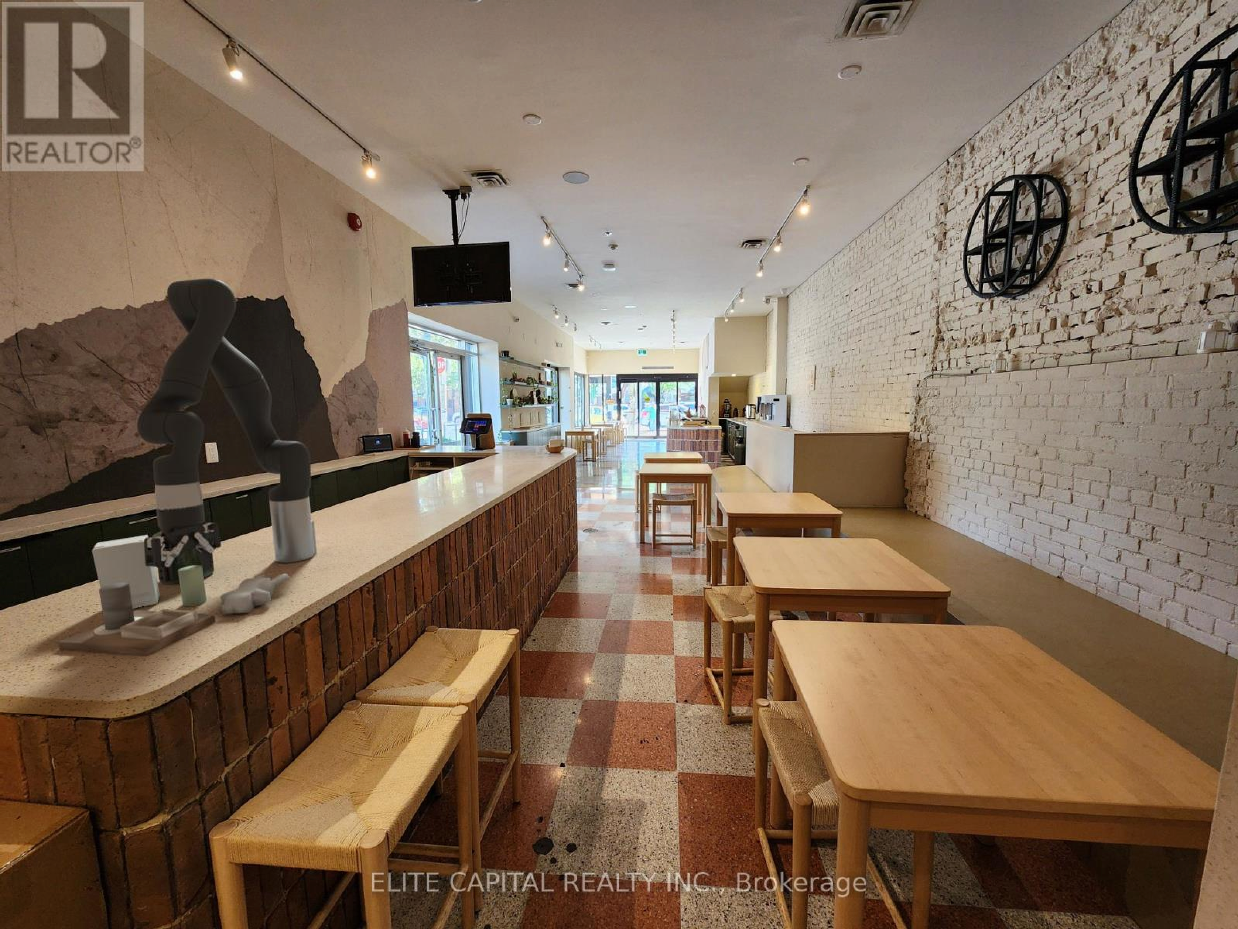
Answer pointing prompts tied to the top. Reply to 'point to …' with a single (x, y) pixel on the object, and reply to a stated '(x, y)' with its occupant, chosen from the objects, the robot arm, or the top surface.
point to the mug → (186, 560)
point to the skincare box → (127, 569)
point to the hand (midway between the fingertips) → (188, 576)
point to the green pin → (192, 585)
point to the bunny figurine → (250, 594)
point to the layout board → (134, 626)
